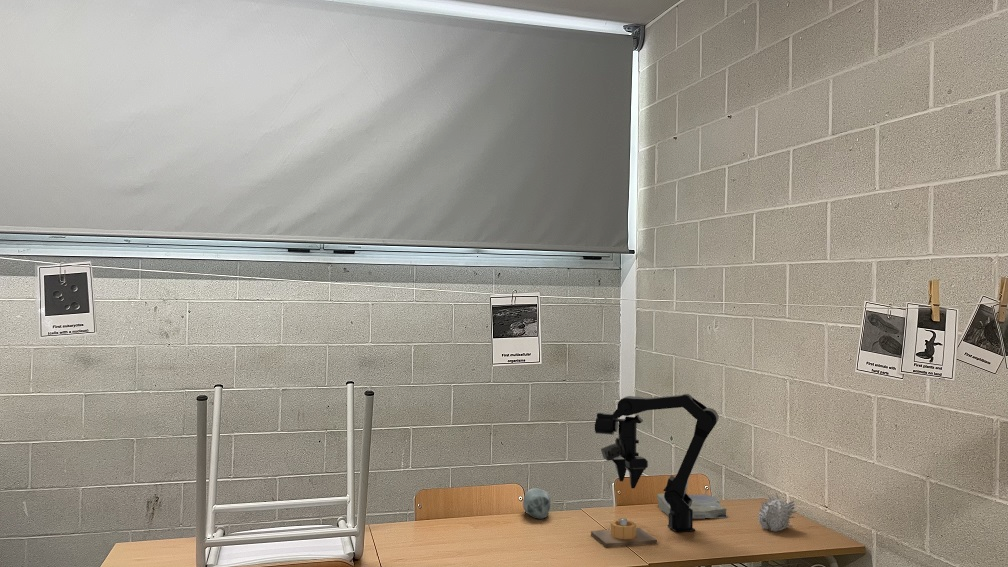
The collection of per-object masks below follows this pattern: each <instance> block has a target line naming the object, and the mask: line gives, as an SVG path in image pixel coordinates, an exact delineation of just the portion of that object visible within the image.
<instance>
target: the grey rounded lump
mask: <svg viewBox="0 0 1008 567" xmlns="http://www.w3.org/2000/svg"><path fill="white" fill-rule="evenodd" d="M522 500H523V501H522V507H523V510H524V511H525V513H527V515H529V516H531V517H532V518H534V519H538V520H542V519H546V517H547V516H548V515H549V512H550V511H551V496H550V494H549V493H548V492H547V491H545V490H543V489H541V488H538V487H533V488H531V489H529V490H527V491H526V492H525V494H524V496H523V499H522Z"/></svg>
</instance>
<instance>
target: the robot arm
mask: <svg viewBox="0 0 1008 567" xmlns="http://www.w3.org/2000/svg"><path fill="white" fill-rule="evenodd" d="M677 408H684V410H685V411H686V412H688V414H690V415H691V417H693V418H694V419H695V420H696V423H695V429H694V432H693V436H692V439H691V442H690V443H689V446H688V448H687V451H686V453H685V455H684V458H683V459H682V462H681V463H680V466H679V468H678V471H677V474H676V475H675V476H673V474H672V475H670V476H669V477H668V479H667V481H666V486H665V487H664V489H663V490H662V491H663V492H664V493H665V494H664V498H665V500H666V502H667V503H668V504H670V507H671V508H670V513H669V516H668V524H667V527H668V528H669V529H671V530H672V531H674V532H675V533H676V532H677V533H682V532H685V533H686V532H696V529H695V528H694V527H693V526H694V525H693V522H694V520H693V510H692V509H691V508H690V506H691V504H692V499H691V498H690V497H689V496H688V495H689V494H687V490H688V484H689V479H690V477H691V474H692V471H693V469H694V467H695V465H696V462H697V461H698V457H699V456H700V453H701V451H702V449H703V446H704V444H705V442H706V439H707V438H708V437H709V435H710V433H711V432H712V430H713V429H714V428H715V426H716V425H717V423H718V422H719V413H718V412H717V411H716V410H715V409H714V408H711V407H707V406H706V405H705V404H703V403H701V402H700V401H698V400H697V399H695V398H694V397H693V396H692V395H691V394H690V393H683V394H678V395H676V394H675V395H666V396H655V397H644V396H633V395H627V396H624V397H622V398H621V399H620V400H619V401H618V403H617V408H616V409H615V411H613V413H604V412H597V413H596V418H595V423H594V432H595V434H599V435H600V434H601V435H609V436H610V435H611V436H614V434H615V433H617V432H618V437H616V439H615V442H614V443H611V444H609V445H606V446H605V447H602V448H601V449H600V451H601V455H602V457H603V459H604V460H606V461H607V462H609V461H611V462H612V463H613V464H614V465H615V470H616V473H617V476H618V480H619V482H624V480H625V476H626V473H627V471H628V475H629V483H630V488H631V489H635V488H636V486H637V484H638V483H639V480H640V479H641V477H642V475H643V473H644V471H646V469H647V468H648V466H649V462H648V460H647V459H646V458H644V457H643V456H640V454H639V452H637V444H639V443H640V440H639V439H637V433H638V432H637V427H638V426H637V425H638V424H641V423H643V422H644V420H643V419H642V417H640V416H639V413H642V412H646V411H652V410H653V411H655V410H666V409H667V410H668V409H677ZM635 414H636V415H635ZM633 415H635V416H633ZM622 416H624V418H621V417H622Z"/></svg>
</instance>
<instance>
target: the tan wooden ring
mask: <svg viewBox="0 0 1008 567" xmlns="http://www.w3.org/2000/svg"><path fill="white" fill-rule="evenodd" d="M636 528H637V524H636V523H635V522H634V521H631V520H627V526H620V522H618V519H617V520H616V519H615V520H613V521H611V522H610V530H611V535H612V536H613V537H615V538H619V539H633V538H634V537H636Z"/></svg>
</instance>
